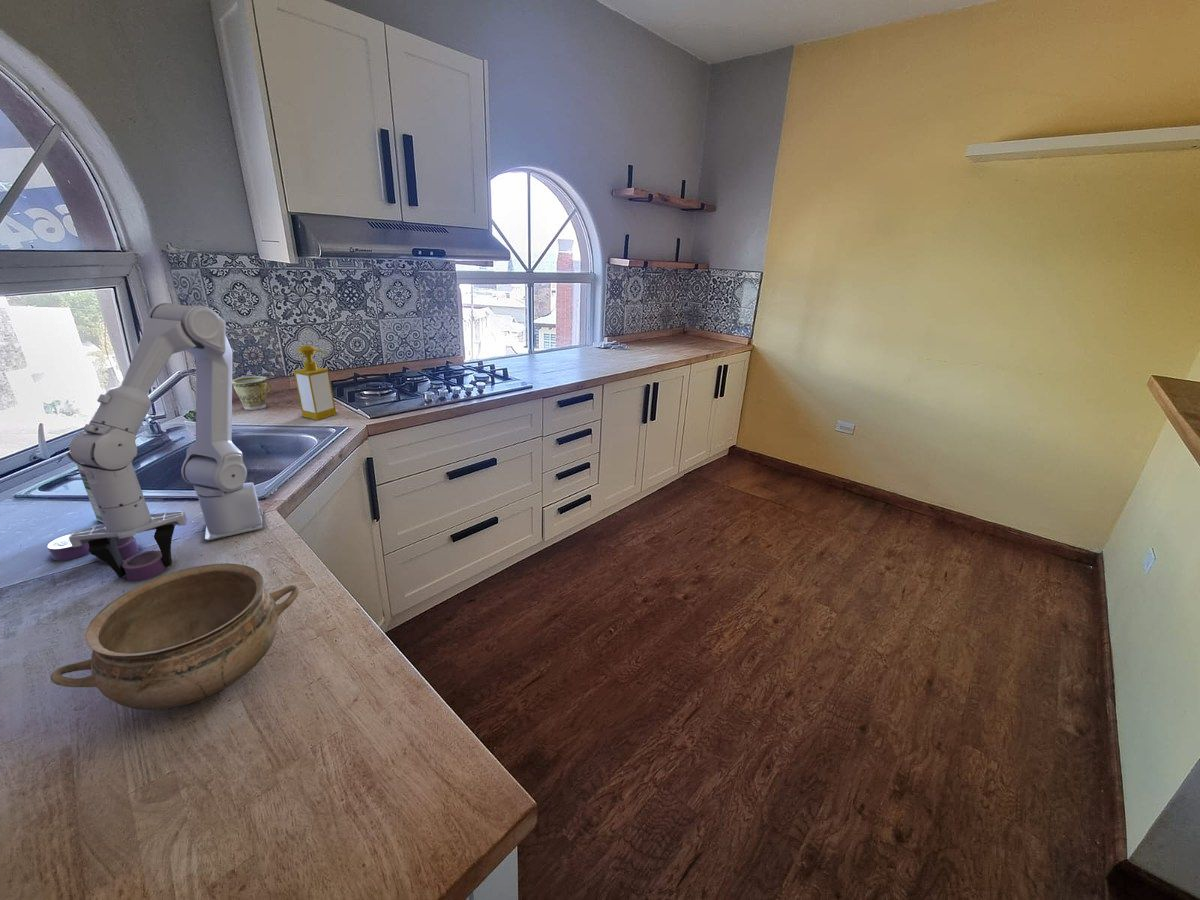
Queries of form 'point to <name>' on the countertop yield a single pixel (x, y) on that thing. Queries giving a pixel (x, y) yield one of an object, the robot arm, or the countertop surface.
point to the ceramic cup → (251, 391)
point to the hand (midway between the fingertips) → (146, 568)
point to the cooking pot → (180, 637)
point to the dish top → (66, 549)
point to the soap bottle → (314, 387)
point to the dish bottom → (125, 547)
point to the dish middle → (143, 565)
